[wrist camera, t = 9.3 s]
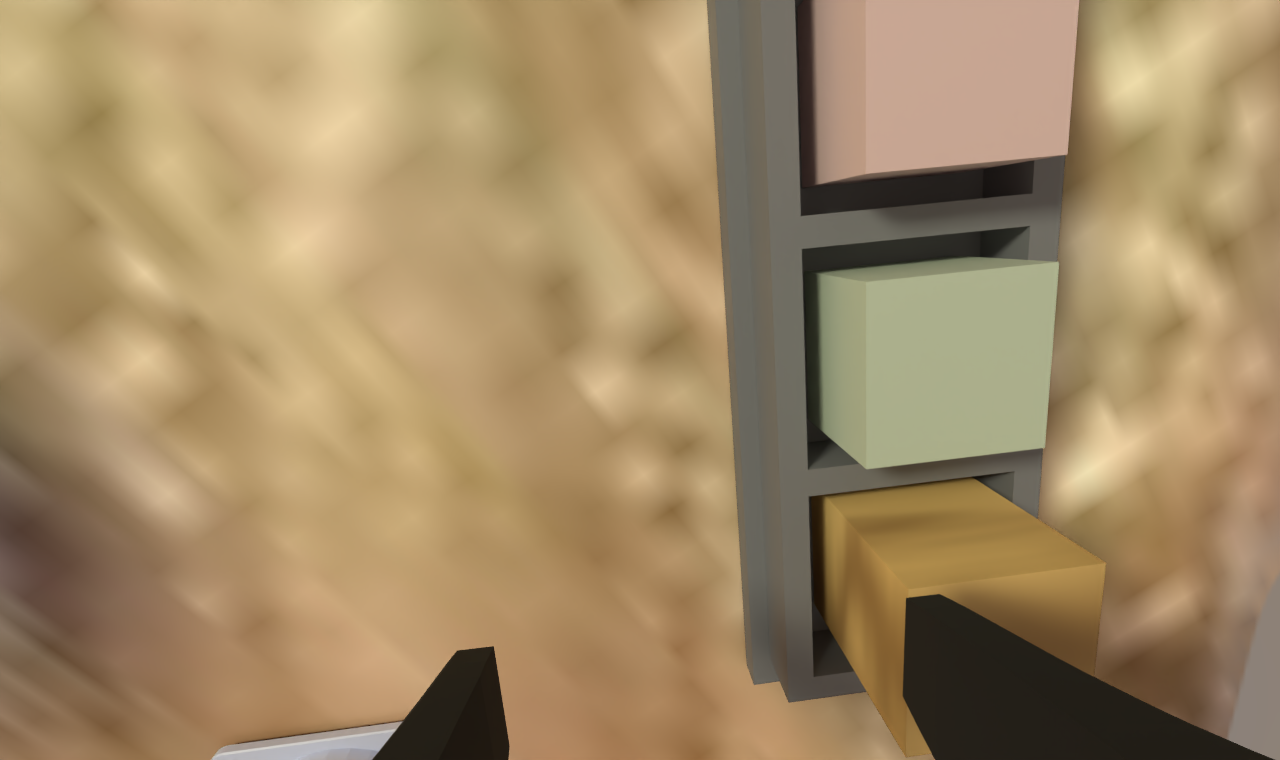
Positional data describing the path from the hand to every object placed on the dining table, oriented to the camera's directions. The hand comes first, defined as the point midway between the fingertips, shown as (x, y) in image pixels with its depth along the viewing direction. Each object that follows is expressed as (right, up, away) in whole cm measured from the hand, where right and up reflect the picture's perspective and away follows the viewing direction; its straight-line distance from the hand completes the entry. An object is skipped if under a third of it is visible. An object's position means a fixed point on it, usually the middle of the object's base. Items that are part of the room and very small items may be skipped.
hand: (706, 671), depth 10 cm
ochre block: (+7, 0, +9) cm, 11 cm away
